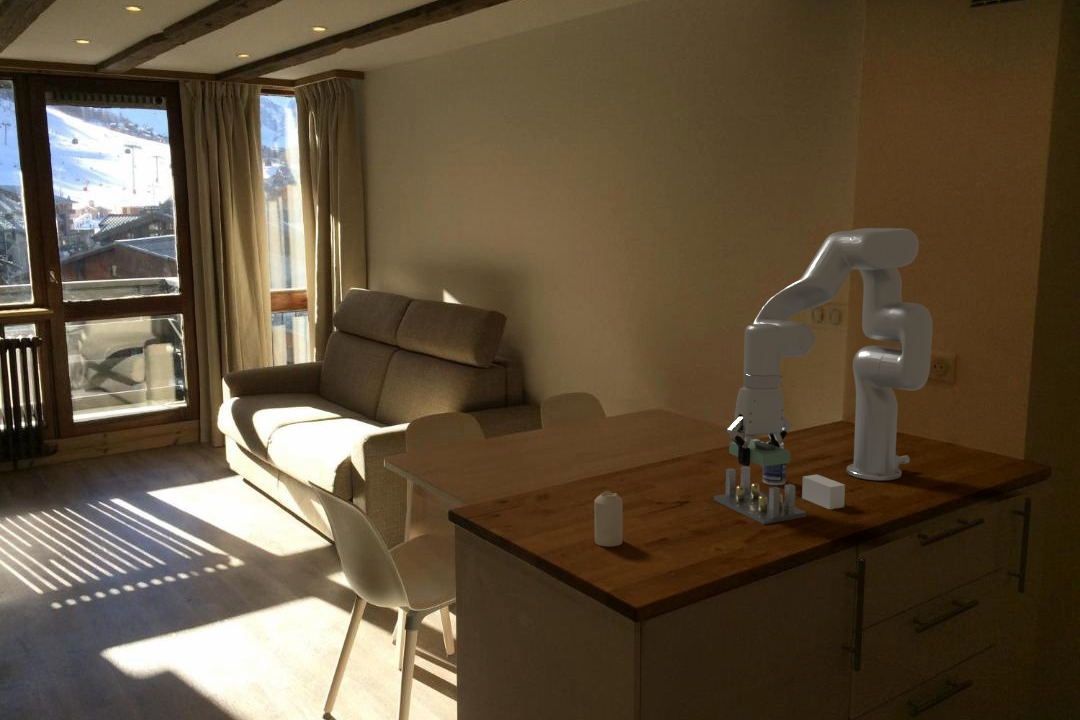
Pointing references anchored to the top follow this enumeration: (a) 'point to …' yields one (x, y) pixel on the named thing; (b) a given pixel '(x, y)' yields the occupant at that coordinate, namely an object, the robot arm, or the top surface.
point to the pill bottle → (775, 473)
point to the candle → (608, 519)
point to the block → (823, 491)
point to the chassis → (759, 499)
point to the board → (763, 453)
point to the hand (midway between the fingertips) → (758, 462)
